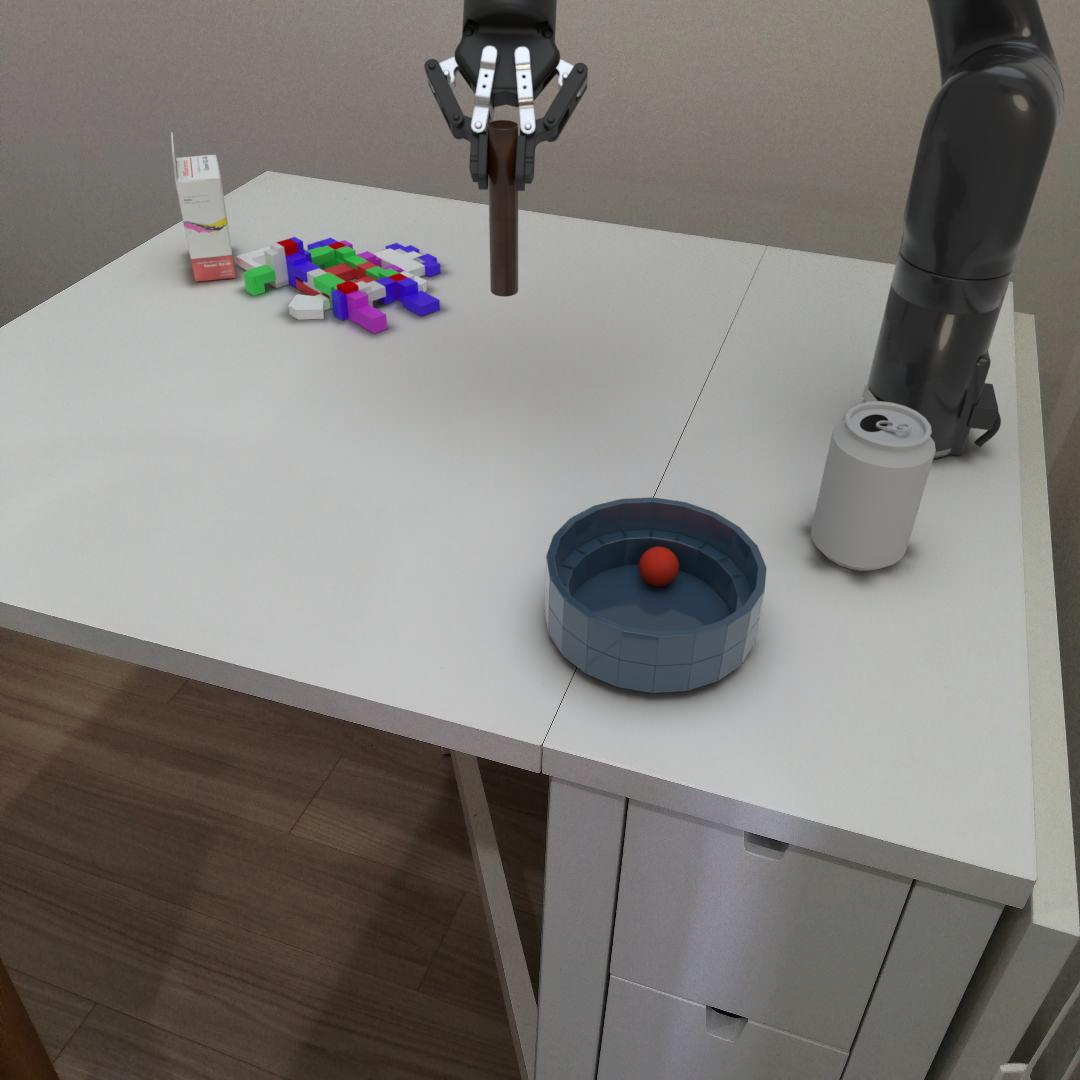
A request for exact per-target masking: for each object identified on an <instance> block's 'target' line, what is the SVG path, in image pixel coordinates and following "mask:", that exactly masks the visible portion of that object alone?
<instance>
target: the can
mask: <svg viewBox="0 0 1080 1080" xmlns="http://www.w3.org/2000/svg"><path fill="white" fill-rule="evenodd" d="M931 433H932V430H931V425H930V424H929V422H928V421H927V419H926V418H925V417H924V416H922V415H921V414H919V413H918V412H917V411H915V410H913V409H910V408H908V407H906V406H903V405H899V404H895V403H890V402H882V401H875V402H865V403H863V402H862V403H857V404H855V405H853V406H852V407H850V408H848V410H847V411H846V413H845V414H844V418H842V419H841V420H840V421H838V422H837V423H836V425H835V426H834V427H833V429H832V432H831V437H830V442H829V446H828V450H827V455H826V460H825V464H824V468H823V473H822V478H821V483H820V487H819V492H818V496H817V500H816V504H815V510H814V513H813V518H812V522H811V527H810V538H811V539H812V541H813V544H814V546H815V547H816V548H817V549H818V550H819V551H820V552H821V553H822V554H823V555H824V556H825V557H826V558H827V559H828V560H829V561H831V562H832V563H835V564H836V565H838V566H840V567H843V568H846V569H849V570H853V571H859V572H860V571H861V572H868V571H869V572H870V571H877V570H880V569H883V568H886V567H889V566H893V565H895V564H896V563H897V562H899V561H901V560H902V559H903V558H904V556H905V554H906V551H907V549H908V546H909V543H910V539H911V535H912V531H913V528H914V526H915V523H916V519H917V515H918V512H919V509H920V505H921V502H922V499H923V495H924V491H925V488H926V485H927V481H928V478H929V475H930V471H931V468H932V465H933V461H934V459H935V458H934V455H935V451H936V449H935V442H934V441H933V439H932V438H931V436H930V435H931Z"/></svg>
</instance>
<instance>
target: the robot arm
mask: <svg viewBox="0 0 1080 1080" xmlns="http://www.w3.org/2000/svg"><path fill="white" fill-rule="evenodd" d="M926 2H927V5H928V9H929V12H930V18H931V22H932V27H933V33H934V38H935V44H936V51H937V59H938V66H939V73H940V75H939V76H940V89H939V90H938V91H937V93H936V94H935V97H933V99H932V102H931V104H930V106H929V108H928V111H927V114H926V117H925V120H924V123H923V128H922V130H921V131H922V132H921V134H920V135H921V136H920V140H919V144H918V148H917V152H916V157H915V162H914V167H913V171H912V175H911V180H910V186H909V190H908V194H907V199H906V203H905V207H904V212H903V223H902V224H903V230H902V235H901V236H902V237H901V240H900V245H899V250H898V253H897V258H896V262H895V266H894V269H893V270H894V271H893V273H892V279H891V283H890V288H889V291H888V294H887V295H888V296H887V300H886V303H885V308H884V312H883V316H882V321H881V325H880V328H879V333H878V337H877V342H876V345H875V350H874V354H873V359H872V363H871V367H870V371H869V375H868V379H867V384H864V389H863V393H862V399H863V400H862V403H865V402H875V401H882V402H890V403H895V404H899V405H903V406H906V407H908V408H910V409H913V410H915V411H917V412H918V413H919V414H921V415H922V416H924V417H925V418H926V419H927V421H928V422H929V424H930V425H931V430H932V433H931V435H930V436H931V438H932V439H933V441H934V442H935V449H936V451H935V455H934V458H933V459H937V458H942V457H946V456H948V455H954V456H963V453H964V449H965V446H966V443H967V440H968V437H969V434H970V430H971V429H977V430H985V432H984V433H983V434H982V435H980V436H979V437H977V438H976V439H975V440H974V441H973V443H974V444H975V446H977V447H979V448H982V446H983V445H985V444H986V443H987V442H989V441H990V440H991V439H992V438H993V437H994V436H995V435H996V434H997V433H998V432H999V429H1000V427H1001V424H1002V418H1001V414H1000V411H999V406H998V405H999V404H998V402H997V401H998V400H997V397H996V392H995V388H994V384H993V383H987V382H986V380H987V377H988V375H989V371H990V368H991V363H992V362H991V361H992V360H991V357H990V353H989V349H990V346H991V342H992V340H993V336H994V332H995V329H996V326H997V322H998V319H999V316H1000V313H1001V311H1002V307H1003V304H1004V301H1005V296H1006V294H1007V290H1008V288H1009V284H1010V281H1011V277H1012V275H1013V271H1014V268H1015V266H1016V263H1017V259H1018V256H1019V253H1020V250H1021V248H1022V244H1023V240H1024V236H1025V232H1026V228H1027V225H1028V221H1029V217H1030V214H1031V211H1032V208H1033V205H1034V202H1035V198H1036V196H1037V192H1038V190H1039V189H1038V188H1039V186H1040V182H1041V179H1042V176H1043V173H1044V170H1045V168H1046V167H1045V166H1046V163H1047V160H1048V157H1049V154H1050V150H1051V148H1052V144H1053V141H1054V138H1055V136H1056V133H1057V131H1058V128H1059V126H1060V123H1061V120H1062V117H1063V115H1064V111H1065V104H1066V103H1065V102H1066V92H1065V84H1064V83H1065V82H1064V78H1063V75H1062V71H1061V68H1060V65H1059V63H1058V59H1057V56H1056V53H1055V51H1054V47H1053V45H1052V42H1051V39H1050V35H1049V32H1048V30H1047V26H1046V22H1045V20H1044V15H1043V13H1042V9H1041V6H1040V3H1039V0H926ZM557 3H558V0H463V12H462V29H461V38H460V41H459V43H458V45H457V46H456V48H455V49H454V55H453V56H451V57H449V58H447V59H445V60H442V61H440V62H439V61H438V60H437V59H435V58H429V59H427V60H426V61H425V63H424V65H423V68H424V72H425V76H426V80H427V85H428V87H429V89H430V91H431V93H432V95H433V97H434V99H435V102H436V104H437V106H438V109H439V110H440V112H441V114H442V117H443V118H444V120H445V123H446V124H447V127H448V129H449V132H450V133H451V135H452V137H453V138H454V139H456V140H465V141H468V142H469V143H470V146H469V147H470V148H469V165H468V166H469V167H468V168H469V169H468V170H469V173H470V177H471V181H472V183H477V186H478V190H480V191H481V190H483V191H489V164H488V127H487V125H488V123H490V122H492V121H494V117H495V111H496V108H497V107H503V106H510V107H512V108H513V107H514V108H518V114H519V116H518V117H519V126H520V127H519V135H518V136H517V147H516V169H515V185H516V191H518V192H525V191H526V185H531V184H533V181H534V179H535V166H536V165H535V164H536V163H535V162H536V161H535V160H536V148H537V146H538V145H539V144H540V143H543V142H546V141H547V142H548V143H554V142H556V141H557V140H558V139H559V138H560V136H561V135H562V132H563V130H564V129H565V127H566V125H567V123H568V122H569V121H570V119H571V117H572V116H573V114H574V112H575V110H576V108H577V107H578V105H579V103H580V102H581V100H582V98H583V96H584V95H585V94H586V91H587V89H588V81H589V78H588V77H589V69H588V66H587V64H585V63H584V62H577V63H575V64H572V63H570V62H568V61H566V60H564V59H562V58H561V53H560V49H559V48H558V46H557V44H556V32H557V31H556V28H557V7H558V6H557ZM458 74H460V76H461V77H462V78H463V80H464V81H465V83H466V84H467V86H468V87H469V88H470V90H471V91H472V92H473V94H474V102H473V104H474V105H473V110H472V116H471V117H470V116H467V115H465V114H464V113H463V110H462V108H461V106H460V104H459V102H458V100H457V98H456V96H455V94H454V91H453V90H454V89H455V88H456V86H457V82H456V76H457V75H458ZM555 76H557V77H558V78H557V89H558V92H557V94H556V95H555V97H554V99H553V101H552V102H551V104H550V105H549V107H548V108H547V111H546V113H545V114H544V116H542V117H540V118H537V119H536V115H535V114H536V112H535V102H534V101H536V100H537V98H538V97H539V96H540V95H541V94H542V93H543V91H544V90H545V89H546V88H547V86H548V85H549V84H550V82H551V81H552V80H553V79H554V78H555Z"/></svg>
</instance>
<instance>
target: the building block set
mask: <svg viewBox="0 0 1080 1080" xmlns="http://www.w3.org/2000/svg"><path fill="white" fill-rule="evenodd" d="M306 246H307V250H306V249H305V247H304V241H303V240H301V239H300V238H298V237H296V236H292V237H289V238H285V239H283V240H280V241H277V242H273V243H270V244H269V246H268V245H267V246H265V247H262V248H258V249H256V250H252V251H249V252H246V253H243V254H238V255H236V258H235V259H236V264H237V266H238V267H240V268H242V269H243V270H245V271H244V272H243V281H244V286H245V287H244V288H245V292H247V293H249V294H250V295H252V296H254V297H255V296H258V295H261V294H263V293H266V288H265V284H269V285H271V286H272V287H274V288H275V289H279V288H281V287H286V286H288V285H290V286H292V287H294V288H295V289H297V290H299V291H301V292H302V293H304V294H299V293H297V294H296V295H295V296H294V297H293V299H292V300H291V301H290V302H289V304H288V306H287V307H288V313H289V315H290V316H291V317H293V318H295V319H296V320H298V321H299V320H324V319H325V311H327V310H330V309H331V310H332V314H333V317H335V318H337V319H339V320H340V321H345V320H349V321H352V322H353V323H355V324H356V325H358V326H360V327H362V328H364V329H365V330H367V331H369V332H370V333H372V334H377V333H380V332H382V331H385V330H387V329H388V323H387V322H388V319H387V314H386V313H385V312H383V311H381V310H379V309H377V308H376V307H374V303H373V302H374V301H378V302H380V303H381V304H384V305H388V304H390V303H393V302H396V301H398V302H400V303H401V304H402V307H404V308H405V309H407V310H408V311H411V312H413V313H414V314H416V315H418V316H420V317H423V316H426V315H429V314H431V313H434V312H437V311H440V310H441V302H440V301H441V300H440V299H438V298H437V297H435V296H433V295H431V294H429V293H428V292H427V290H428V285H427V284H428V281H427V280H426V279H424V278H422V277H423V276H426V277H429V278H431V277H434V276H436V275H439V274H441V273H442V272H441V263H439V262H438V258H437V257H436V256H434V255H432V254H430V253H425V254H421V253H420V248H418V247H416V246H413V245H412V244H409V245H407V246H405V245H402V244H400V243H398V242H394V243H392V244H388V245H385V249H383V250H381V251H377V252H374V253H372V252H370V251H369V250H367V251H364V252H360V253H357V252H356V249H354V244H353V243H351V242H350V241H347V240H345V239H343V240H340V241H338V240H336V239H334V238H333V237H328V238H325V239H321V240H319V241H315V242H312V243H309V244H306ZM356 253H357V254H356ZM353 279H356V280H353ZM351 280H353V281H351Z"/></svg>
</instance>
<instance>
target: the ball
mask: <svg viewBox="0 0 1080 1080" xmlns="http://www.w3.org/2000/svg"><path fill="white" fill-rule="evenodd" d="M678 571H679V562H678V559H677V557H676V555H675V554H674V553H673V552H672V551H671V550H669V549H667V548H665V547H653V548H651V549H649V550H647V551H646V552H645V553H644V554H643V555H642V557H641V559H640V561H639V572H640V575H641V577H642V578H643V579H644V581H645V582H647V583H648V584H650V585H652V586H656V587H662V586H666V585H668V584H670V583H671V582H672V581H673V580H674V579H675V578H676V576H677V574H678Z"/></svg>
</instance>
